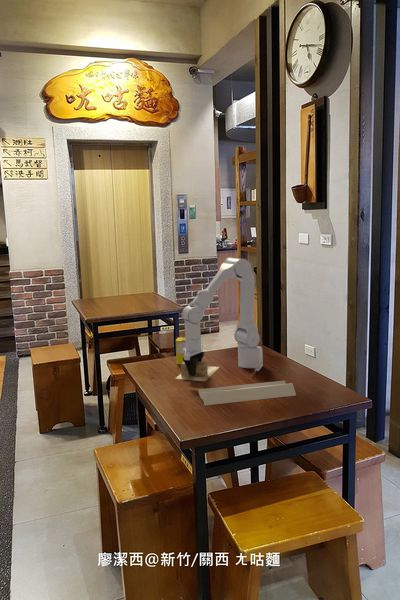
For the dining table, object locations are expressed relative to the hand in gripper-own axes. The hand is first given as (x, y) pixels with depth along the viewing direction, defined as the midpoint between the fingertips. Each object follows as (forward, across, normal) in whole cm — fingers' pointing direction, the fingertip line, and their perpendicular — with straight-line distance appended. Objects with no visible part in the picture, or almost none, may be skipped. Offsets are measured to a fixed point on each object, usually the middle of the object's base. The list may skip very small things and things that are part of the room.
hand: (194, 373), depth 185 cm
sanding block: (+1, 0, 0) cm, 1 cm away
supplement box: (+2, -15, -10) cm, 18 cm away
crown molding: (+3, +11, +23) cm, 25 cm away
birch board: (+2, -4, 0) cm, 4 cm away
